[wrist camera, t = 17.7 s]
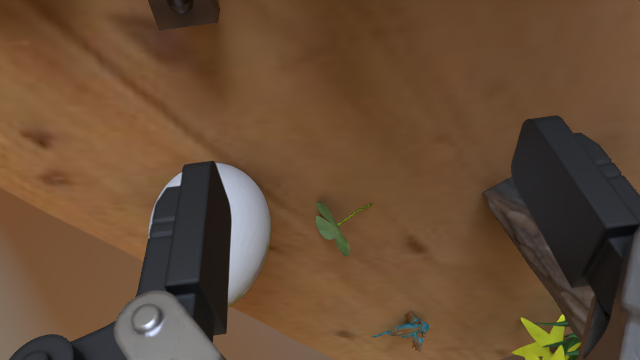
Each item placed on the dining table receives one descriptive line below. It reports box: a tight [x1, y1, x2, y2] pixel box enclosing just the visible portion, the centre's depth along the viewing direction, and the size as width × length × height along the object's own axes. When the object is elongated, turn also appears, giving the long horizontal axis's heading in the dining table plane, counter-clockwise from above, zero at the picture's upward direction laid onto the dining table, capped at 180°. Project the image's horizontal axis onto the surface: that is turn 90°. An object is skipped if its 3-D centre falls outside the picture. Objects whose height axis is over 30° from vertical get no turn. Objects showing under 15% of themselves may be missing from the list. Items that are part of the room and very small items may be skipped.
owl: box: [482, 178, 595, 341], centre depth 51 cm, size 13×13×20 cm
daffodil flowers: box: [512, 314, 581, 360], centre depth 75 cm, size 17×15×35 cm
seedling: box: [315, 202, 372, 256], centre depth 56 cm, size 7×8×7 cm
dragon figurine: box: [372, 312, 429, 352], centre depth 79 cm, size 6×7×8 cm
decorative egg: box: [149, 163, 271, 307], centre depth 47 cm, size 12×12×15 cm
